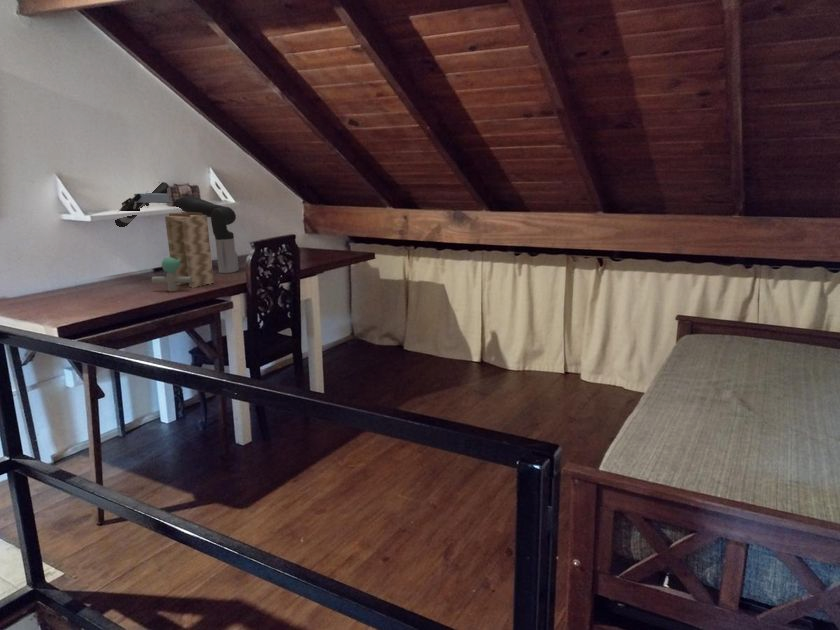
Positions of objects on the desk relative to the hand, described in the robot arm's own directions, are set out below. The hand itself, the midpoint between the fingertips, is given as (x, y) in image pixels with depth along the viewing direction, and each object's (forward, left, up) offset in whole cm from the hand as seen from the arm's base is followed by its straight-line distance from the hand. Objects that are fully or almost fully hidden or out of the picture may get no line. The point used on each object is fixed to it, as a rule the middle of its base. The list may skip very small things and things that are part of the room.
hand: (144, 194), depth 298 cm
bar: (0, +6, -3) cm, 7 cm away
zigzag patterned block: (-1, +29, -41) cm, 50 cm away
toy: (+13, +33, -41) cm, 54 cm away
